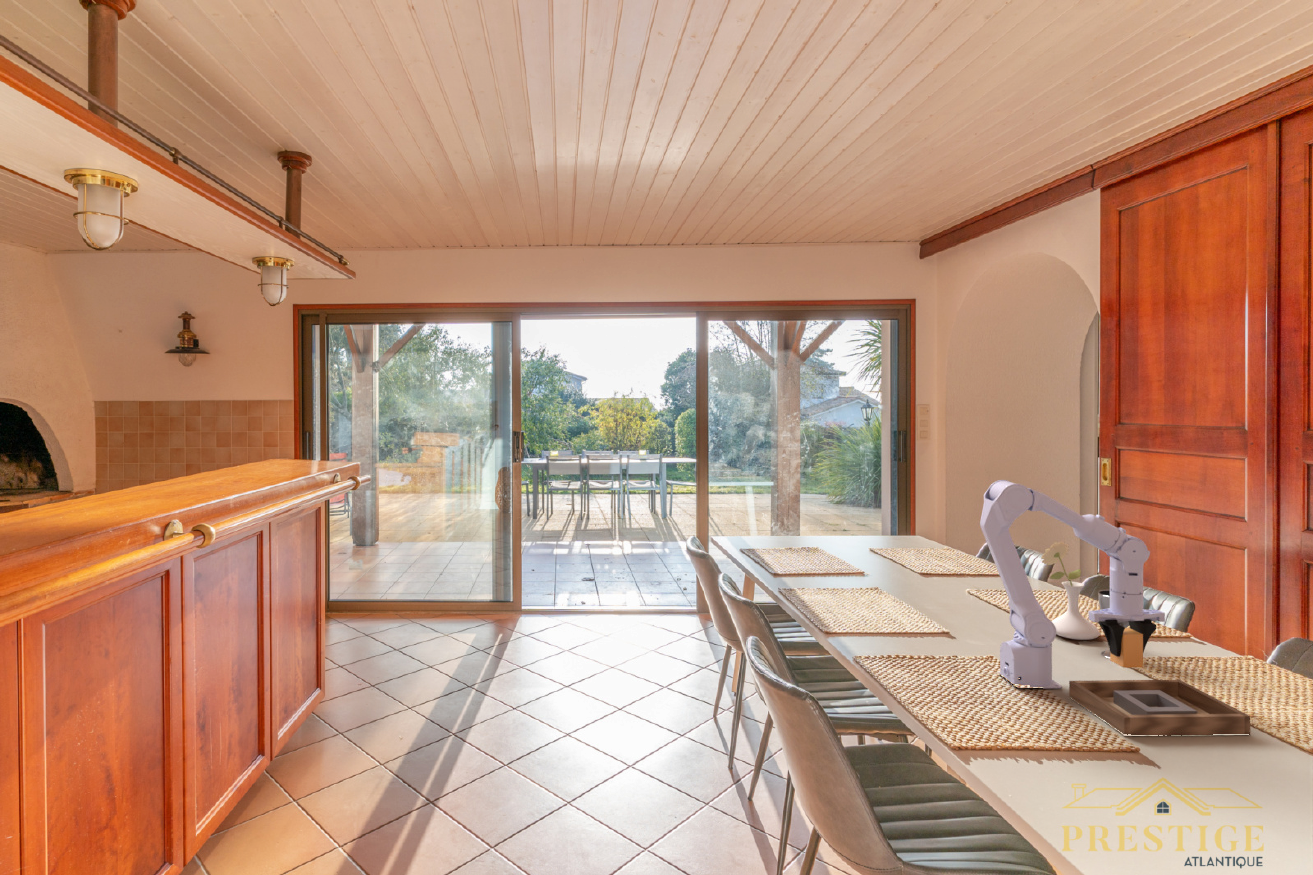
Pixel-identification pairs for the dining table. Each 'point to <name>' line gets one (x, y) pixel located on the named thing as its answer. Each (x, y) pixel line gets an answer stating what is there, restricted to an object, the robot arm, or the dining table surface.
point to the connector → (1130, 650)
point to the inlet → (1150, 703)
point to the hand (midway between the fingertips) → (1126, 654)
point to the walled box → (1206, 722)
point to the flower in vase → (1069, 599)
